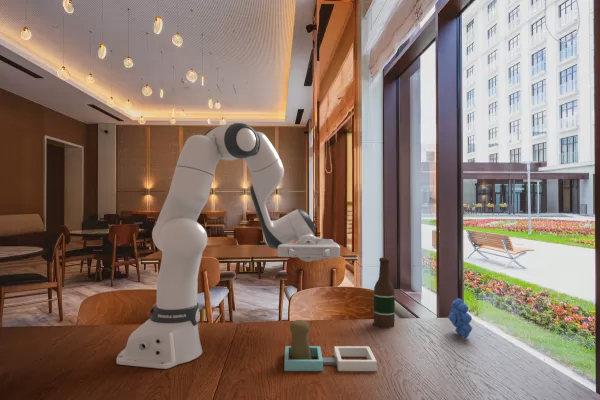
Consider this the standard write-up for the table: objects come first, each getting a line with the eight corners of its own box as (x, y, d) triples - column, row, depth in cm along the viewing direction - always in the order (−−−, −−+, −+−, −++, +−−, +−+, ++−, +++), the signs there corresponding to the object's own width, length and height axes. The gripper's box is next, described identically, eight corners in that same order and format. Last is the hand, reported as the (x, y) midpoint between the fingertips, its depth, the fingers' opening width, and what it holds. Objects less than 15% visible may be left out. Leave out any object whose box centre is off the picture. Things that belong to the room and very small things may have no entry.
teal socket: (284, 370, 94) (284, 361, 94) (285, 354, 104) (285, 346, 104) (322, 371, 94) (323, 361, 94) (320, 355, 104) (320, 346, 104)
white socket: (322, 371, 94) (323, 361, 94) (320, 355, 104) (320, 346, 104) (376, 371, 94) (376, 361, 94) (368, 355, 104) (368, 346, 104)
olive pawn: (312, 366, 96) (310, 325, 96) (289, 367, 96) (287, 325, 96) (311, 356, 102) (310, 317, 102) (289, 357, 102) (288, 318, 102)
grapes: (440, 329, 126) (440, 295, 127) (459, 329, 127) (459, 295, 127) (456, 342, 115) (456, 304, 115) (477, 342, 115) (477, 304, 115)
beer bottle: (397, 323, 133) (398, 257, 133) (391, 329, 126) (391, 260, 126) (377, 319, 137) (377, 255, 137) (369, 325, 130) (370, 258, 130)
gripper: (277, 238, 125) (275, 243, 111) (337, 239, 125) (342, 243, 112) (277, 257, 125) (275, 263, 111) (337, 257, 125) (342, 264, 112)
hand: (309, 253), depth 111 cm, fingers open, 8 cm apart
